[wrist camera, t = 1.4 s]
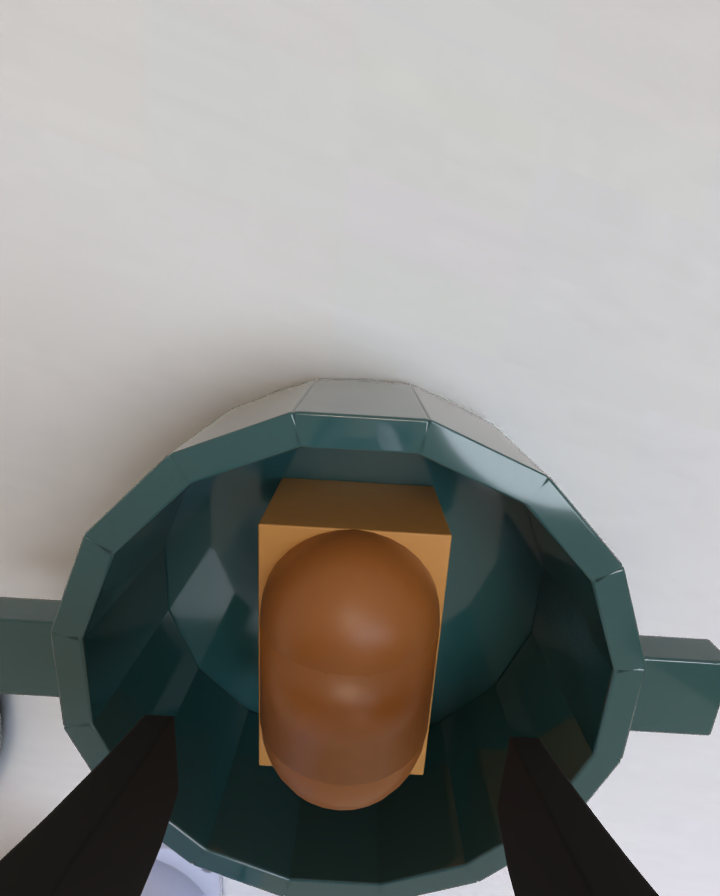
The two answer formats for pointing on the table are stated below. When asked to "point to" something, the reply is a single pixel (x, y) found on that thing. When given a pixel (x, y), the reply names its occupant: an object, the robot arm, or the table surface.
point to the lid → (0, 731)
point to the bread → (349, 635)
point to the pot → (459, 654)
